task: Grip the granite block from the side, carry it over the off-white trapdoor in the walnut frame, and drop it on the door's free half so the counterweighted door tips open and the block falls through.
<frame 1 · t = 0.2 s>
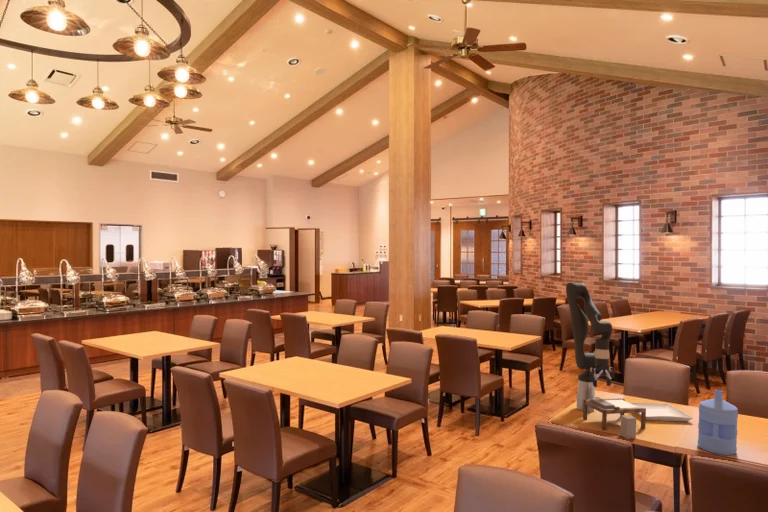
hand: (601, 386, 292), 17 cm above the table, tool pointing down, fingers open, 8 cm apart
water jug: (716, 449, 248), on the table
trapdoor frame: (617, 423, 283), on the table
trapdoor: (614, 404, 282), point 10 cm above the table, hinge at 0.0°
granite block: (627, 436, 262), on the table
square plate: (656, 415, 299), on the table
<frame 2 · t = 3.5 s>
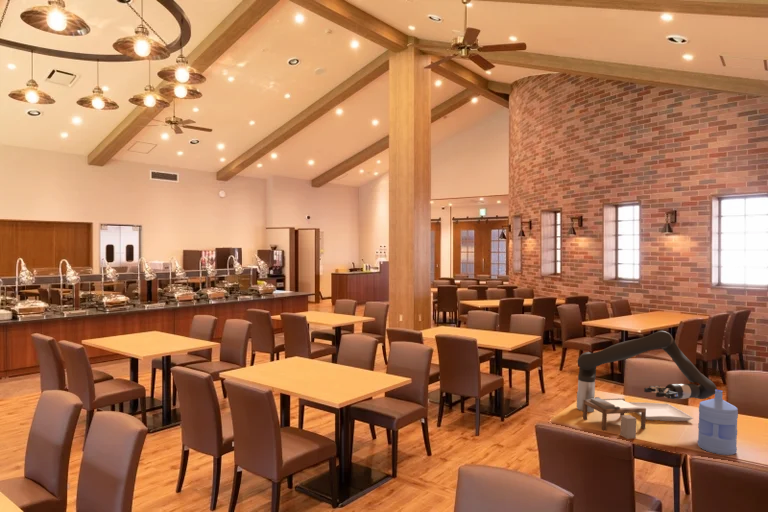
hand: (650, 392, 264), 22 cm above the table, tool horizontal, fingers open, 8 cm apart
nothing on the table moved.
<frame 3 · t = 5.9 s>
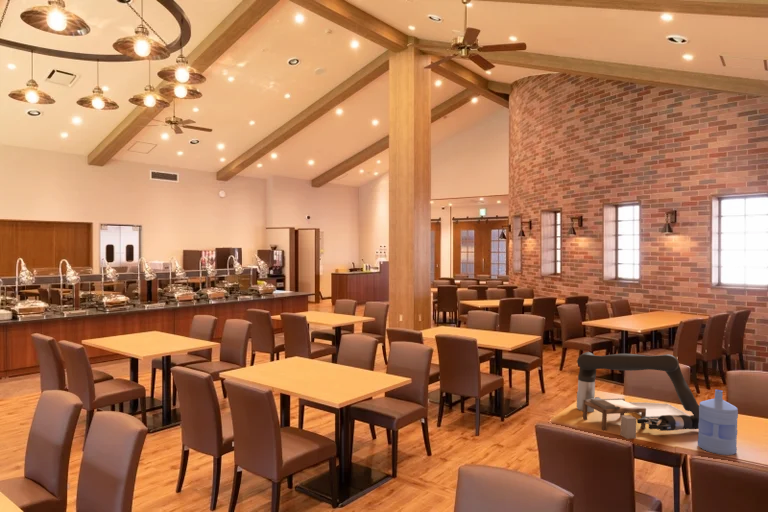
hand: (643, 424, 264), 6 cm above the table, tool horizontal, fingers open, 8 cm apart
nothing on the table moved.
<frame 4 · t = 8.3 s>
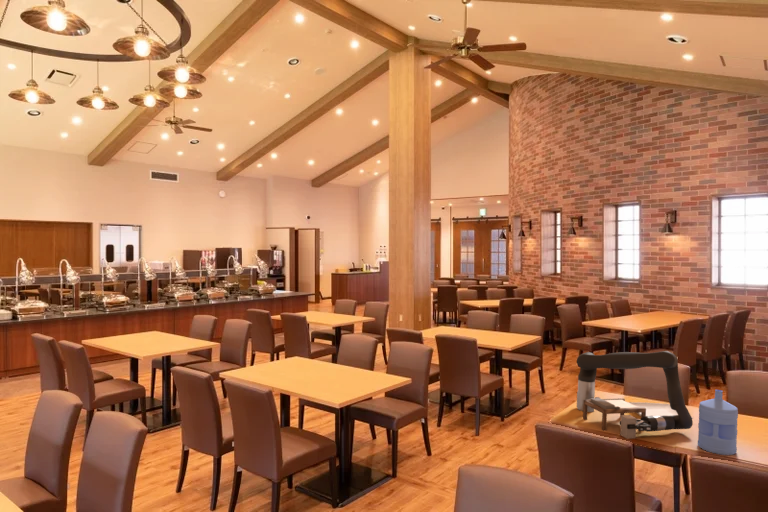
hand: (623, 424, 262), 6 cm above the table, tool horizontal, fingers closed on granite block, 5 cm apart
granite block: (628, 436, 262), on the table, touching gripper
everything else where it was.
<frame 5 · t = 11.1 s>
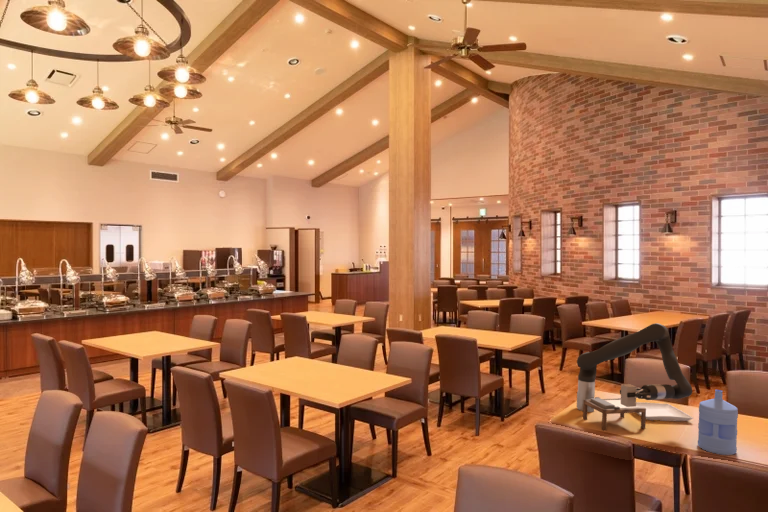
hand: (623, 393, 263), 21 cm above the table, tool horizontal, fingers closed on granite block, 5 cm apart
granite block: (628, 405, 264), point 15 cm above the table, touching gripper
everything else where it was.
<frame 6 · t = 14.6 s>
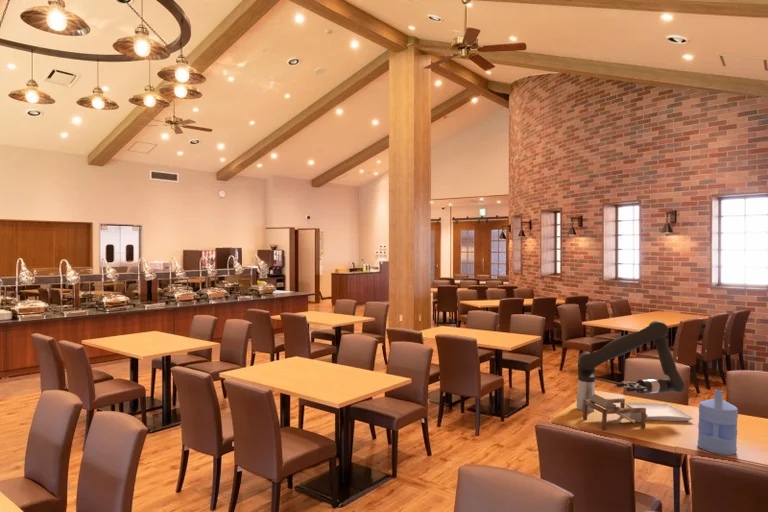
hand: (621, 387, 283), 20 cm above the table, tool horizontal, fingers open, 8 cm apart
trapdoor: (612, 409, 282), point 8 cm above the table, hinge at -31.8°, touching granite block
granite block: (627, 412, 284), point 6 cm above the table, tilted 108°, touching trapdoor
everything else where it was.
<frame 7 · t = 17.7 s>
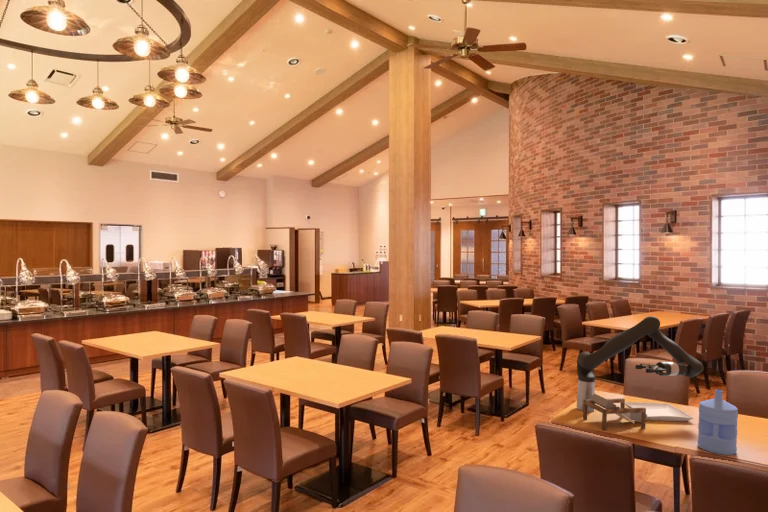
hand: (640, 368, 286), 29 cm above the table, tool horizontal, fingers open, 8 cm apart
trapdoor: (612, 409, 282), point 8 cm above the table, hinge at -33.2°, touching granite block
everything else where it was.
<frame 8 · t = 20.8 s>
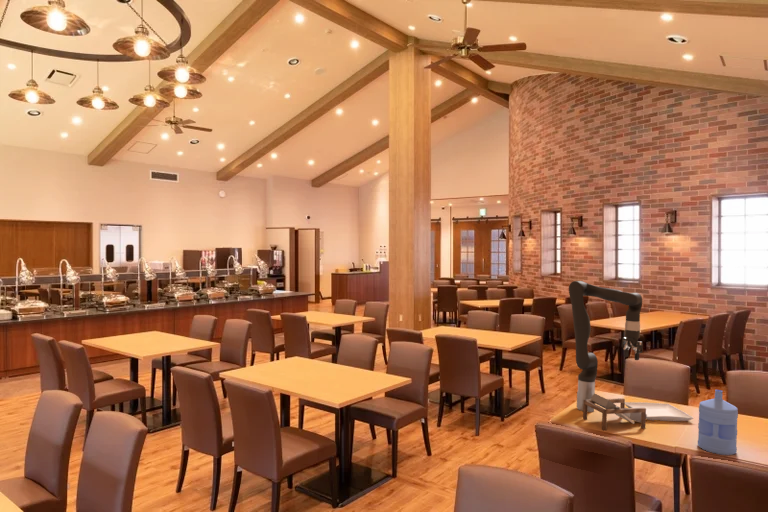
hand: (631, 358, 288), 34 cm above the table, tool pointing down, fingers open, 8 cm apart
trapdoor: (612, 409, 282), point 8 cm above the table, hinge at -34.1°, touching granite block
everything else where it was.
at the end: granite block point 5.1 cm above the table; granite block inside the target area (2.6 cm from its centre), point 5.1 cm above the table; the gripper is holding nothing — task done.
